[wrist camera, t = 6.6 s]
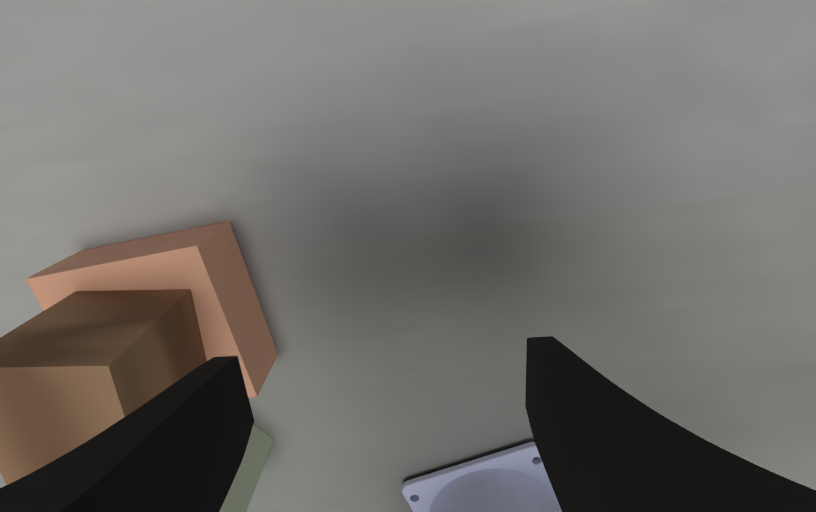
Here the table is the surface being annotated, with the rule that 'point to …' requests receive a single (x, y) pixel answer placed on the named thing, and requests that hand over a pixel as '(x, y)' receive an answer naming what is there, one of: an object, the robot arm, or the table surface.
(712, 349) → the table surface
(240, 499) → the sage block
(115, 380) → the walnut block
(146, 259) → the base block
